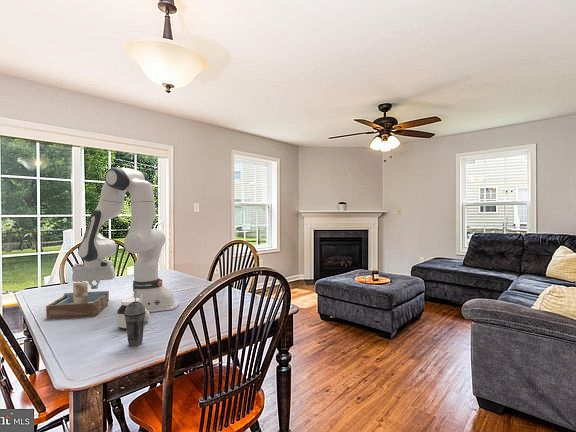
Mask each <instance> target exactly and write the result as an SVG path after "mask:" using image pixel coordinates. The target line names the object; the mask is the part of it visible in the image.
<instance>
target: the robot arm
mask: <svg viewBox="0 0 576 432" xmlns="http://www.w3.org/2000/svg"><path fill="white" fill-rule="evenodd" d="M104 179H105V180H104V181H103V185H102V188H101V192H100V195H99V202H98V204H97V206H96V207H95V209H94V210H93V211H92V212H91V214H90V216H89V218H88V221H87V225H86V228H85V232H84V235H83V238H82V241H81V242H80V244H79V247H78V248H77V249H78V250H77V251H78V252H77V253H78V256H79V257H80V259H82V260H83V263H76V264H74V265H72V266H71V271H72V276H71V277H72V278H71V281H72V282H74V283H80V282H87V283H88V285H89V286H90V290H97V289H99V284H100V283H101V281H110V280H114V279H116V269H115V267H114V265H113V264H114V262H113V260H109V259H107V258H111V257H114V256H116V254H117V252H118V245H117V242H116V241H115V240H114V239H110V238H108V237H105V236H104V235H102V233H100V229H101V226H102V225H103V224H105V223H106V222H107V221H110V220H111V219H114V218H116V217H117V216H119V215H120V214H122V212H123V210H124V209H123V208H124V203H125V196H126V193H127V192H128V193H129V195H130V196H129V197H130V212H131V214H130V216H131V221H130V225H129V229H128V233H127V235H126V236H125V237H124V239H123V247H124V249H125V250H126V251H127V252H128V253H130V254H138V255H137V256H138V257H137V260H136V261H135V262H134V265H133V281H132V290H133V294H132V295H133V296H132V298H135V289H136V298H139V299H140V303H142V304H143V305H144V307H145V308H146V309H147V310H148V311H149V313H156V312H163V311H171V310H176V309H177V308H178V307H179V305H180V302H179V300H177V299H175V294H174V292H173V291H172V290H170V289H168V288H167V287H165V286H164V285H163V279H162V278H159V263H160V262H159V261H160V256H161V252H162V249H163V247H164V245H165V244H166V239H167V238H166V235H165V233H164V232H163V231H162V230H158V229H155V228H153V224H154V222H155V220H156V217H157V214H156V213H157V212H156V201H155V199H156V198H155V193H154V188H153V185H152V183H151V182H150V179H149V175H147V173H146V172H144V171H143V170H142V171H141V170H139V169H134V168H133V169H132V168H129V167H119V166H117V167H115V166H114V167H111V168H108V170H106V172H105V176H104ZM93 282H96V283H95V284H93Z"/></svg>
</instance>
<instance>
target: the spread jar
mask: <svg viewBox="0 0 576 432" xmlns="http://www.w3.org/2000/svg"><path fill="white" fill-rule="evenodd" d="M132 302H135V298H133V297H127V298H123V299H122V300H121V305H120V306H119V308H117V312H116V323H117V327H118V329H120V330H122V331H127V327H126V320H125V315H124V313H125V309H126V307H127V306H128V305H129V304H130V303H132ZM136 302H140V299H139V298H136ZM145 310H146V313H145V318H144V323H145V322H147V321H148V320H150V318H151V314H150V313H151V312H149V311H148V310H147V309H146V308H145Z"/></svg>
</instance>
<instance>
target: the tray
mask: <svg viewBox="0 0 576 432" xmlns="http://www.w3.org/2000/svg"><path fill="white" fill-rule="evenodd" d="M104 294H108V303H109V301H110V291H109V290H100V291H88V303H94V302H95V301H97V300H98V299H99V298H101V297H102V296H103V295H104ZM63 296H66V299H64V300H63V301H61V302H59V303H58V304H56V305H64V304H73V292H65V293H63Z"/></svg>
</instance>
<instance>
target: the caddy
mask: <svg viewBox="0 0 576 432" xmlns="http://www.w3.org/2000/svg"><path fill="white" fill-rule="evenodd" d="M64 299H66V296H64V295H63V296H61V297H59V298H57V299H56V300H54V301H53V302H51V303H49V304H47V305H46V306H45V310H46V311H45V313H46V314H45V316H46V318H45V319H46V320H59V319H60V320H61V319H73V318H74V319H75V318H87V317H88V318H89V317H97V316H98V315H99V314H100V313H101V312H102V311H103V310H104V309H106V308H107V307H108V306H109V302H108V294H104V295H103V296H102V297H101V298H99V299H98V300H97V301H95V302H94V303H81V304H64V305H56V304H58V303H59V302H61V301H63V300H64Z"/></svg>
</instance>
